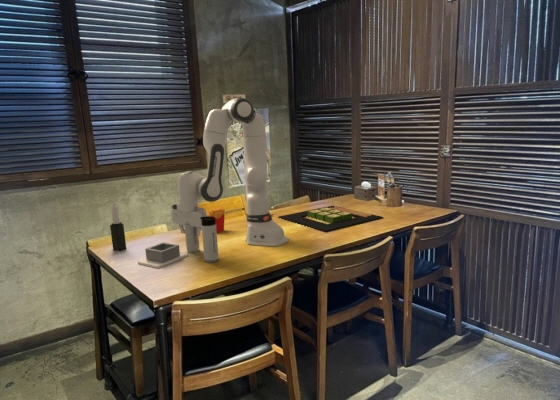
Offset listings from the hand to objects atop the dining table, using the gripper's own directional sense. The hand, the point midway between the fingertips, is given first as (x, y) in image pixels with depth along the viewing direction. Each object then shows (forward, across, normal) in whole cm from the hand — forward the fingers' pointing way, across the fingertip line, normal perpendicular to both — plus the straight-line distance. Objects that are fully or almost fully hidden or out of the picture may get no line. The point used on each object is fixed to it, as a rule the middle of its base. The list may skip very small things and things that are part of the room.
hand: (190, 234), depth 191 cm
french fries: (+8, +12, -33) cm, 36 cm away
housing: (+9, +4, +14) cm, 17 cm away
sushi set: (+8, -34, -84) cm, 91 cm away
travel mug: (+8, -18, +6) cm, 20 cm away
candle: (+10, +36, +13) cm, 40 cm away
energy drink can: (+9, 0, -1) cm, 9 cm away
